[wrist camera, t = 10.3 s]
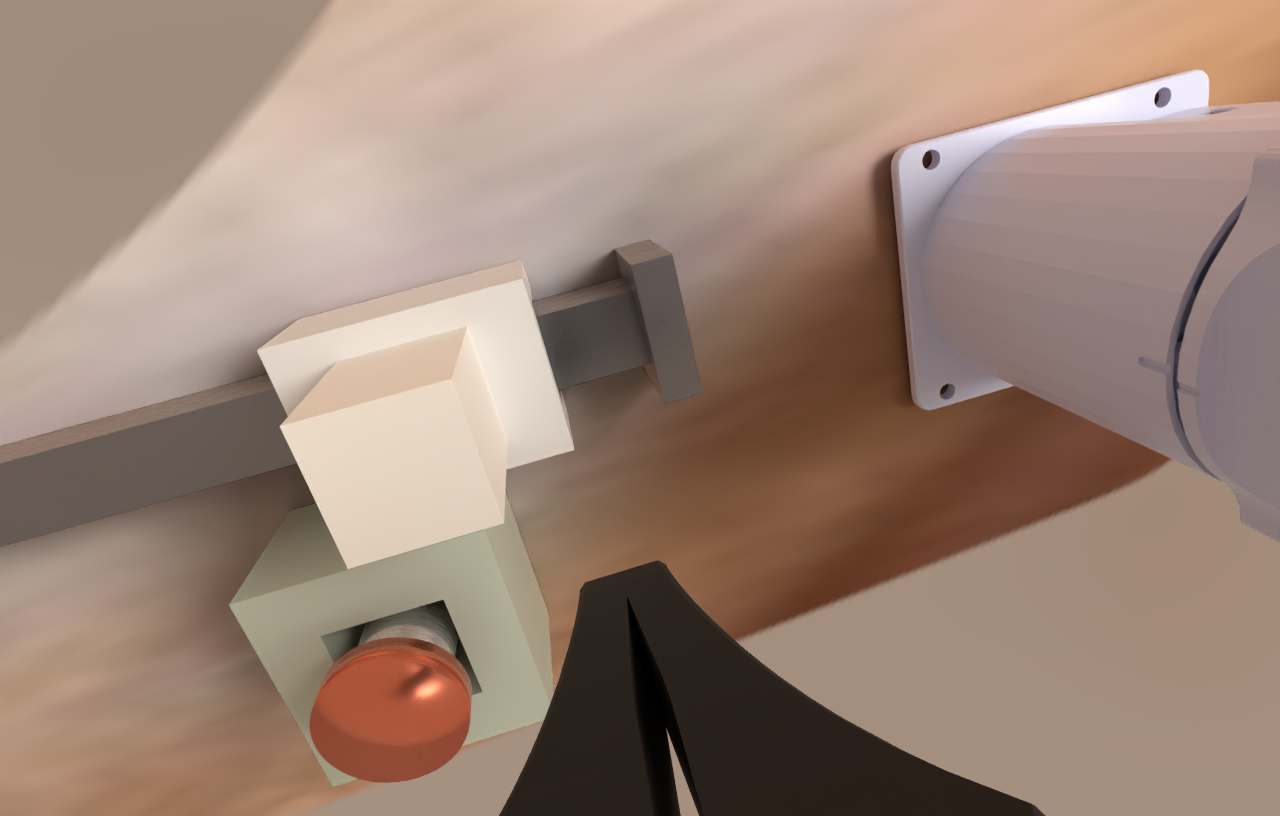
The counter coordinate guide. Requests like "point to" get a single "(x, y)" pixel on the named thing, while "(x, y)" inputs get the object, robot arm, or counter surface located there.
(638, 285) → the rail
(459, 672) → the red push knob
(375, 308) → the carriage
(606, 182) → the counter surface
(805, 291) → the counter surface
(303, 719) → the box
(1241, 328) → the robot arm
